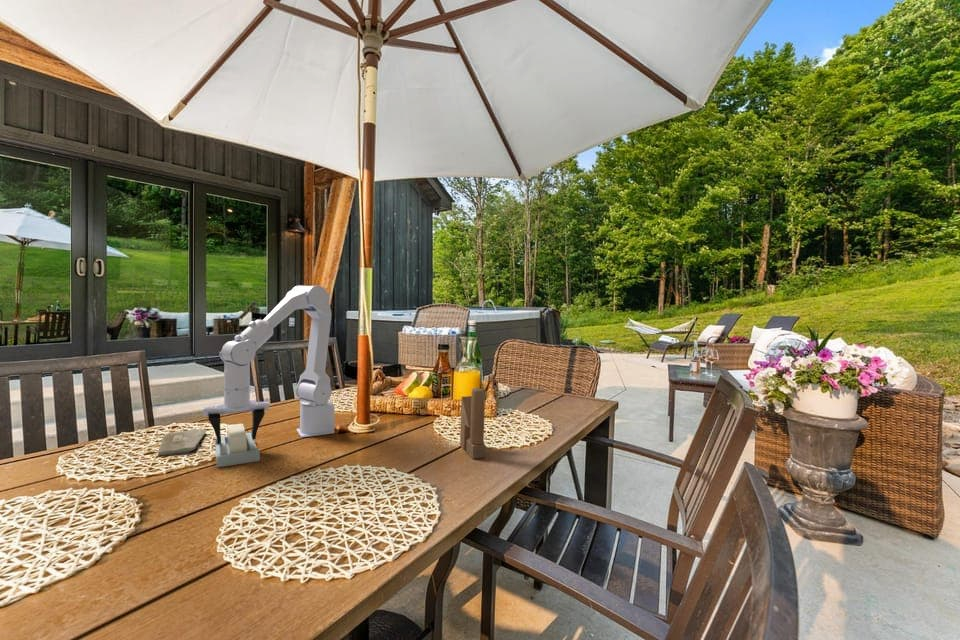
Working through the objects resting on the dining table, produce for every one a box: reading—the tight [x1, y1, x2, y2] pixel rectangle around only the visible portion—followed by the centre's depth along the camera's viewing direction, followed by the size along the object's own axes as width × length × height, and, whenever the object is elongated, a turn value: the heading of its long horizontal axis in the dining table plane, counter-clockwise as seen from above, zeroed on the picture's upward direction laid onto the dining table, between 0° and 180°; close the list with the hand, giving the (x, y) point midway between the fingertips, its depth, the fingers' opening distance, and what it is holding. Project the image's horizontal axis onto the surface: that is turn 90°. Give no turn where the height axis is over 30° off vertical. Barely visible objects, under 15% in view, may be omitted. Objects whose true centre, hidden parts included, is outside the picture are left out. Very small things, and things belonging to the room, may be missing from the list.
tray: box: [214, 431, 261, 468], centre depth 110 cm, size 9×16×3 cm, turn 33°
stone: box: [157, 428, 207, 456], centre depth 116 cm, size 18×3×10 cm
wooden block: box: [459, 387, 487, 460], centre depth 117 cm, size 4×11×18 cm, turn 21°
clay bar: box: [227, 423, 247, 454], centre depth 110 cm, size 12×4×5 cm, turn 33°
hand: (236, 440), depth 110 cm, fingers open, 7 cm apart
